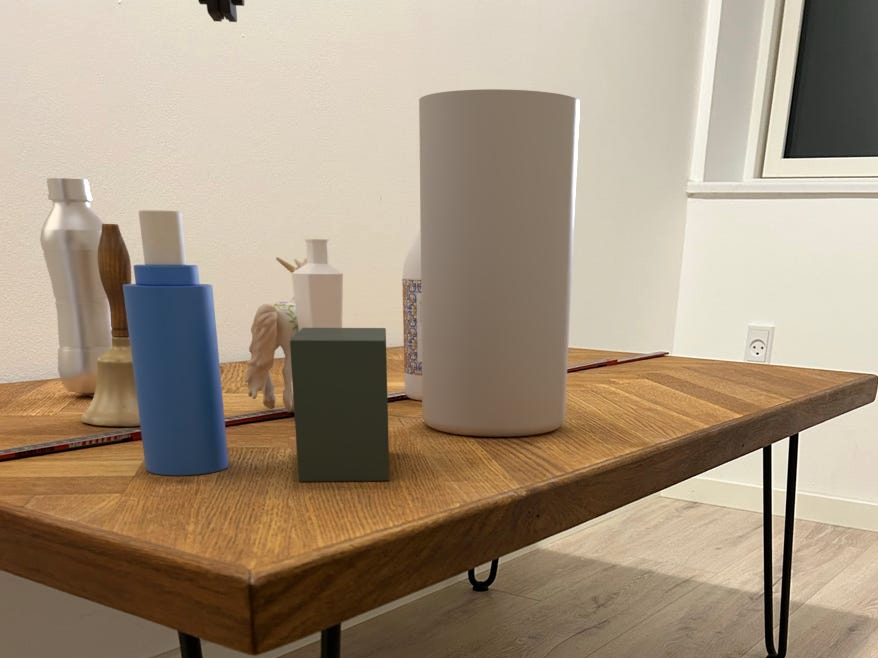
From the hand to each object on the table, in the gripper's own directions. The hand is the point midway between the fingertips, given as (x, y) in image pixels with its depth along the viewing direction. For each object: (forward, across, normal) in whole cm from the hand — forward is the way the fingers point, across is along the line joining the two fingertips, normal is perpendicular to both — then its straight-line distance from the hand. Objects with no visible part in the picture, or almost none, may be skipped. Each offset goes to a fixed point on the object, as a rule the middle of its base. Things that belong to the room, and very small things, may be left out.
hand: (222, 17), depth 66 cm
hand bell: (+29, +12, -9) cm, 33 cm away
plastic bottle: (+29, +19, -24) cm, 42 cm away
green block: (+29, -8, +11) cm, 32 cm away
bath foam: (+29, -16, -22) cm, 40 cm away
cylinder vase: (+29, -20, -5) cm, 36 cm away
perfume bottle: (+29, -5, -11) cm, 32 cm away
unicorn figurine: (+29, 0, -18) cm, 34 cm away
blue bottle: (+29, 0, +11) cm, 31 cm away
